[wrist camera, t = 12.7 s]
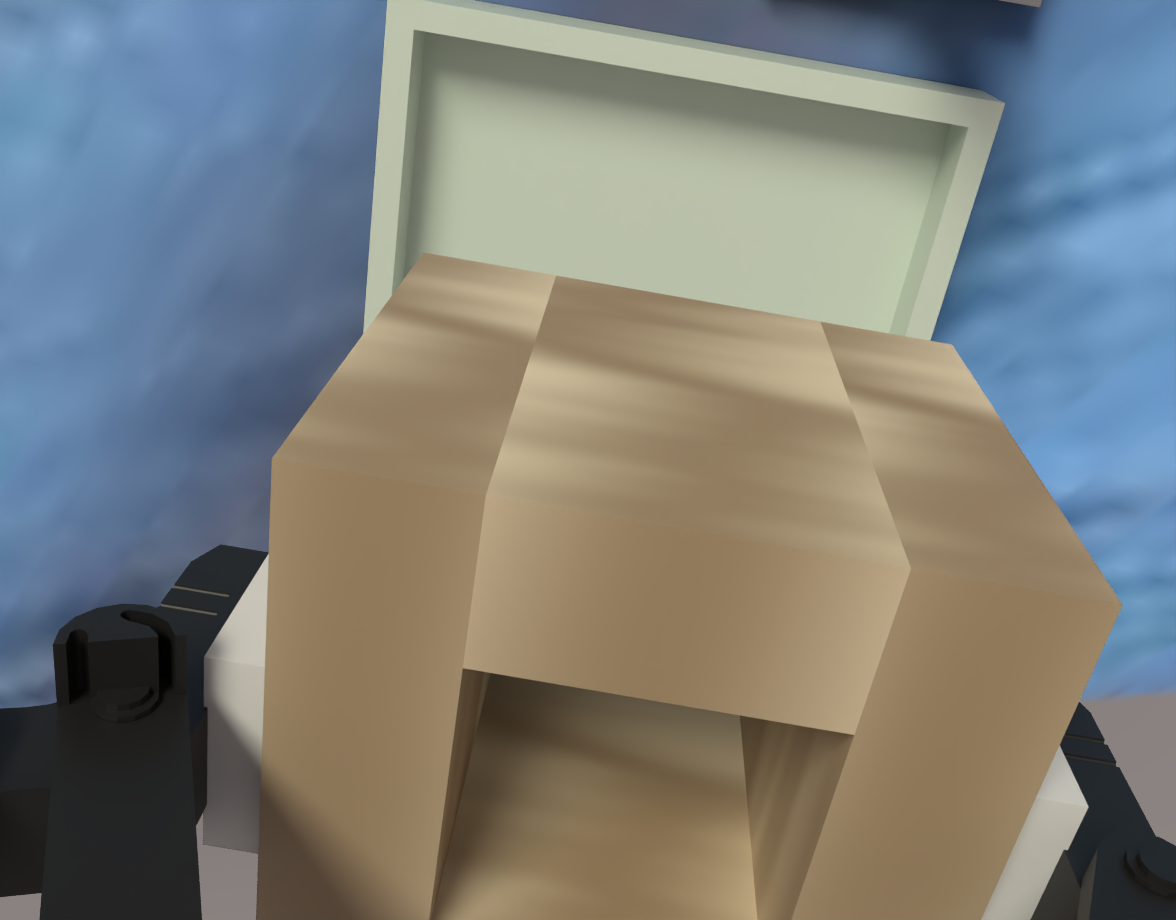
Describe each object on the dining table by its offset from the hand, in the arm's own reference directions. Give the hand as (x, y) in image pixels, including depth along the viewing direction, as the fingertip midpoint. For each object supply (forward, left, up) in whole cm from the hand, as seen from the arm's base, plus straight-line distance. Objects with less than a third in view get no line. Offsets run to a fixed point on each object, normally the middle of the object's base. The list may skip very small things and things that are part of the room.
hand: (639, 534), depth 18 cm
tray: (0, 0, -11) cm, 11 cm away
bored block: (0, 0, 0) cm, 0 cm away
